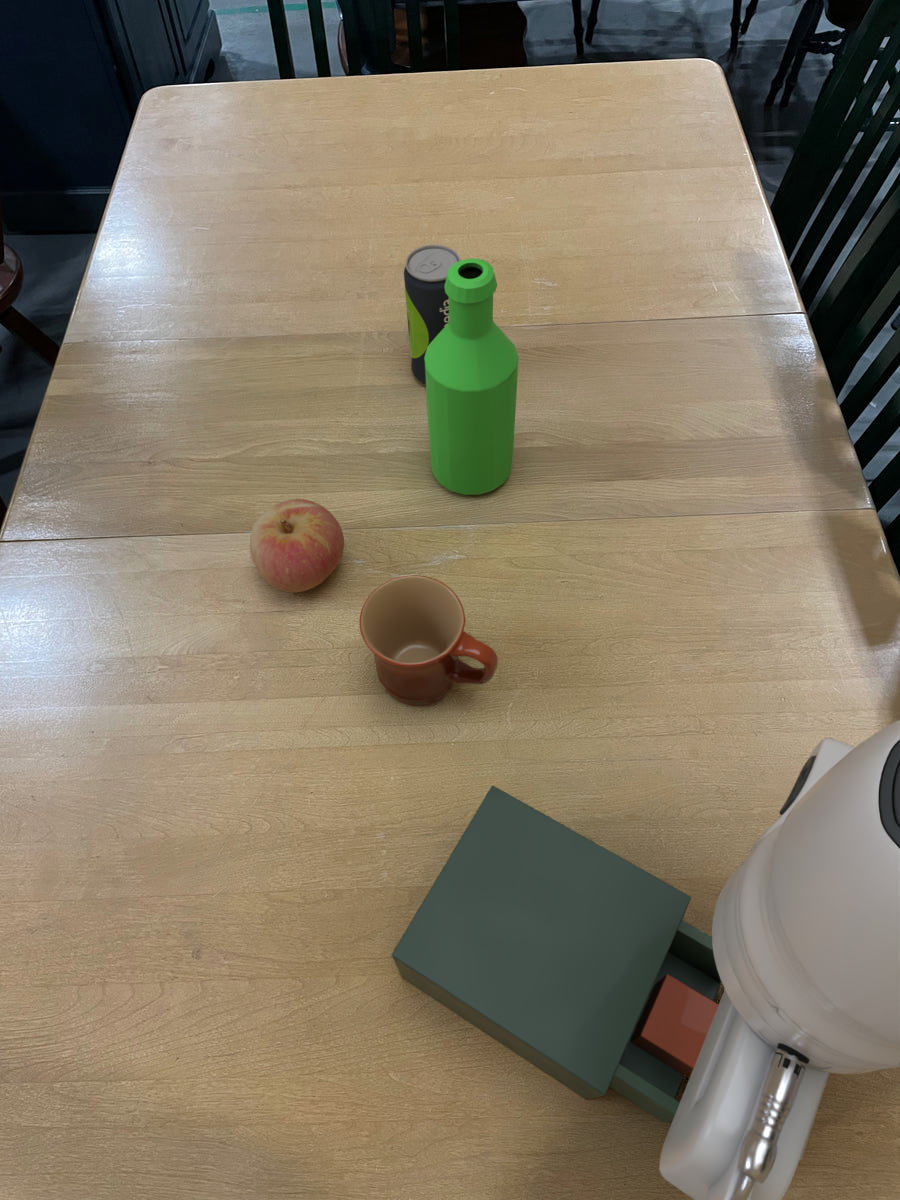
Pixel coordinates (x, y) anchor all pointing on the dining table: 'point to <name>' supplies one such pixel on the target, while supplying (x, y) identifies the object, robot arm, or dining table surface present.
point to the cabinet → (542, 941)
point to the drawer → (643, 1072)
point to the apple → (296, 545)
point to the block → (675, 1024)
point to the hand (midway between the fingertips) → (745, 995)
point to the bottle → (471, 386)
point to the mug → (421, 640)
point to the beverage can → (426, 299)
